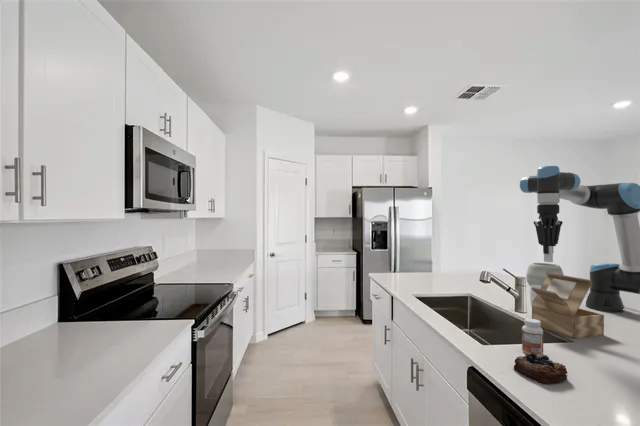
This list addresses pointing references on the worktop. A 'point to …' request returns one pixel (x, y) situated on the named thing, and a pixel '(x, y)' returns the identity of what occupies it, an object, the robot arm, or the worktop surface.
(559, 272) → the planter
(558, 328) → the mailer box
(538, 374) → the pastry
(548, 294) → the lid
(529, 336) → the pill bottle
